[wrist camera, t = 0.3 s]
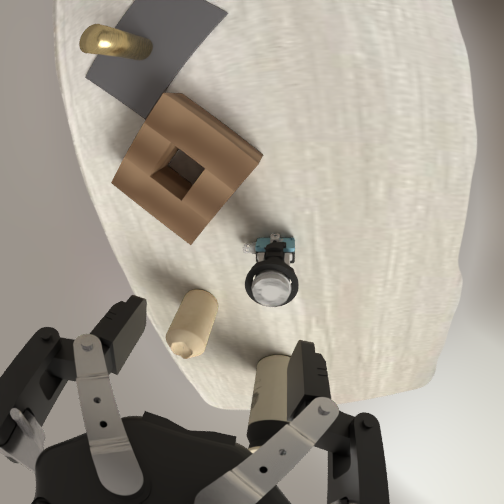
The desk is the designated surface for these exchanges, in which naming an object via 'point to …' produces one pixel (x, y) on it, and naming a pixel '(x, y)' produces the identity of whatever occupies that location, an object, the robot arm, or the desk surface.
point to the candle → (192, 324)
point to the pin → (114, 43)
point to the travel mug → (268, 401)
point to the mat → (155, 49)
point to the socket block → (169, 181)
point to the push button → (272, 271)
